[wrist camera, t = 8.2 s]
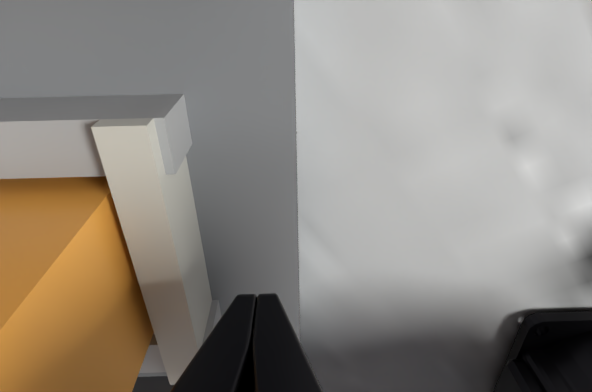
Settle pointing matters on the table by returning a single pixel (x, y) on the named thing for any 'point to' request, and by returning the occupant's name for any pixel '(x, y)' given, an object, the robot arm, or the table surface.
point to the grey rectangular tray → (167, 143)
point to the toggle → (67, 289)
